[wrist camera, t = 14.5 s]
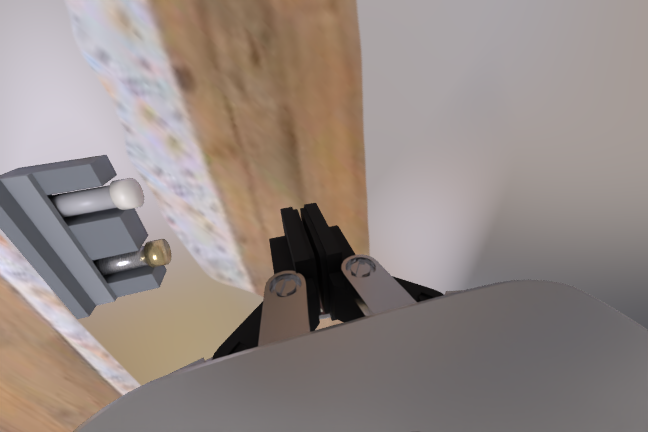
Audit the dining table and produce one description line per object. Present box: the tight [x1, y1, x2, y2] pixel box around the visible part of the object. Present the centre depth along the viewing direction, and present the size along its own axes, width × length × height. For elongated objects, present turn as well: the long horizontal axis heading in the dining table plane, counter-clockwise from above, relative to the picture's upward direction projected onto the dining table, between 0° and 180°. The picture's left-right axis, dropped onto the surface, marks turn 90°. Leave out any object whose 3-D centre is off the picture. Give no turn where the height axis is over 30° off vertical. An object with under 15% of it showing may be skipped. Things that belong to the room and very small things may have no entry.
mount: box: [0, 155, 166, 319], centre depth 35 cm, size 20×10×7 cm, turn 6°
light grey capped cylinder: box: [47, 178, 144, 217], centre depth 34 cm, size 4×10×4 cm, turn 96°
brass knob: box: [92, 239, 171, 275], centre depth 39 cm, size 4×10×4 cm, turn 96°
